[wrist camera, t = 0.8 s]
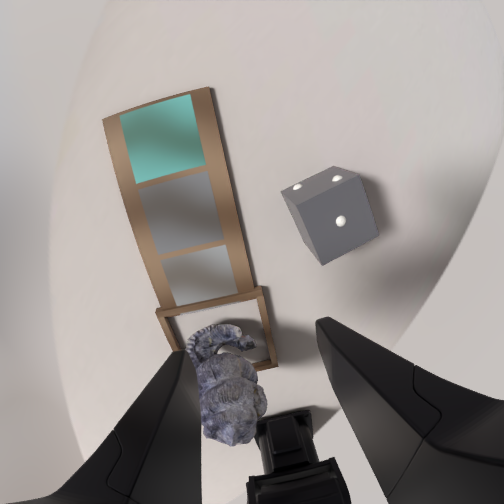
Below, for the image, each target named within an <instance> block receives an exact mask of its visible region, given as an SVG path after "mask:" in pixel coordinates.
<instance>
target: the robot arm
mask: <svg viewBox="0 0 504 504" xmlns="http://www.w3.org/2000/svg"><path fill="white" fill-rule="evenodd" d="M315 325H316V335H317V343H318V347H319V350H320V353H321V356H322V359H323V362H324V365H325V368H326V371H327V374H328V377H329V380H330V382H331V385H332V388H333V390H334V392H335V394H336V396H337V398H338V401H339V403H340V405H341V407H342V409H343V411H344V413H345V415H346V417H347V419H348V421H349V423H350V425H351V427H352V429H353V431H354V433H355V435H356V437H357V439H358V441H359V443H360V445H361V447H362V449H363V451H364V453H365V456H366V458H367V459H368V462H369V464H370V466H371V468H372V470H373V472H374V474H375V476H376V478H377V480H378V482H379V484H380V487H381V489H382V491H383V493H384V495H385V497H386V498H387V501H388V503H389V504H504V400H499V399H494V398H491V397H488V396H486V395H483V394H480V393H477V392H475V391H472V390H470V389H467V388H464V387H462V386H459V385H457V384H454V383H452V382H450V381H447V380H445V379H442V378H440V377H438V376H436V375H434V374H432V373H430V372H428V371H426V370H424V369H423V368H421V367H419V366H417V365H415V366H414V364H413V363H411V362H410V361H408V360H406V359H404V358H402V357H400V356H399V355H397V354H395V353H393V352H391V351H390V350H388V349H386V348H384V347H382V346H381V345H379V344H377V343H375V342H373V341H372V340H370V339H368V338H366V337H364V336H363V335H361V334H359V333H357V332H355V331H354V330H352V329H350V328H348V327H347V326H345V325H343V324H341V323H339V322H338V321H336V320H334V319H332V318H331V317H325V318H321V319H318V320H316V323H315ZM254 438H255V441H256V443H257V445H258V447H259V450H260V451H261V456H262V462H263V468H264V474H265V475H259V476H249V482H247V483H246V487H247V504H351V499H350V495H349V491H348V488H347V485H346V483H345V480H344V478H343V476H342V474H341V471H340V469H339V467H338V464H337V462H336V460H335V457H332V458H329V459H328V460H324V461H321V462H319V459H318V456H317V452H316V449H315V446H314V443H313V440H312V439H313V428H312V419H311V413H310V411H309V410H305V411H301V412H297V413H293V414H289V415H285V416H281V417H276V418H272V419H267V420H262V421H258V422H257V423H256V434H255V436H254ZM8 504H202V489H201V409H200V399H199V390H198V380H197V372H196V369H195V366H194V364H193V362H192V360H191V358H190V355H189V353H188V352H187V350H178V351H174V352H172V353H171V355H170V356H169V357H168V359H167V360H166V361H165V362H164V364H163V365H162V366H161V368H160V369H159V370H158V372H157V373H156V374H155V375H154V377H153V378H152V379H151V381H150V382H149V383H148V384H147V386H146V387H145V388H144V390H143V391H142V392H141V394H140V395H139V396H138V397H137V399H136V400H135V401H134V403H133V404H132V405H131V407H130V408H129V409H128V410H127V412H126V413H125V414H124V416H123V417H122V418H121V419H120V421H119V422H118V423H117V425H116V426H115V427H114V430H112V431H111V432H110V434H109V435H108V436H107V438H106V439H105V440H104V441H103V442H102V444H101V445H100V446H99V447H98V449H97V450H96V451H95V452H94V453H93V454H92V455H91V457H90V458H89V459H88V460H87V461H86V462H85V463H84V464H83V465H82V466H81V467H80V468H79V469H78V470H77V471H76V472H75V473H74V474H73V476H72V477H70V479H69V480H68V481H67V482H66V483H65V484H64V485H63V486H62V487H61V488H59V489H58V490H57V491H56V492H54V493H53V494H51V495H49V496H46V497H43V498H38V499H33V500H27V501H22V502H15V503H8Z"/></svg>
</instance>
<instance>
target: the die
mask: <svg viewBox="0 0 504 504" xmlns="http://www.w3.org/2000/svg"><path fill="white" fill-rule="evenodd" d="M281 193H282V196H283V198H284V200H285V202H286V204H287V206H288V208H289V210H290V213H291V215H292V217H293V219H294V221H295V223H296V226H297V228H298V230H299V232H300V234H301V237H302V239H303V241H304V243H305V244H306V245H307V247H308V248H309V249H310V251H311V252H312V253H313V254H314V256H315V257H316V258H317V260H318V261H319V262H320V264H321V265H322V266H323V265H325V264H327V263H329V262H330V261H332V260H334V259H336V258H338V257H340V256H342V255H344V254H346V253H348V252H349V251H351V250H353V249H355V248H357V247H359V246H361V245H362V244H364V243H366V242H368V241H370V240H372V239H373V238H375V237H377V236H379V233H378V230H377V226H376V223H375V220H374V217H373V213H372V210H371V207H370V204H369V201H368V198H367V195H366V192H365V189H364V186H363V184H362V181H361V178H360V175H359V174H356V173H353V172H350V171H347V170H344V169H341V168H338V167H335V166H332V167H330V168H328V169H326V170H324V171H322V172H320V173H318V174H316V175H313V176H311V177H309V178H307V179H305V180H303V181H301V182H299V183H297V184H295V185H293V186H291V187H289V188H287V189H285V190H283V191H281Z"/></svg>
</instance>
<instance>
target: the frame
mask: <svg viewBox="0 0 504 504" xmlns="http://www.w3.org/2000/svg"><path fill="white" fill-rule="evenodd" d="M255 297H256V298H257V302H258V306H259V311H260V315H261V319H262V324H263V328H264V332H265V337H266V341H267V345H268V349H269V354H270V358H271V360H266V361H262V362H257V363H253V364H252V365H253V367H254V369H255V371H256V372H257V371H262V370H266V369H270V368H275V367H279V366H278V362H277V357H276V352H275V348H274V343H273V338H272V334H271V329H270V324H269V320H268V315H267V311H266V306H265V301H264V297H263V292H262V288H261V286H257V287H254V289H253V290H249V291H245V292H240V293H236V294H232V295H227V296H223V297H218V298H214V299H209V300H205V301H200V302H195V303H191V304H186V305H181V306H176V307H171V308H166V309H162V308H157V309H156V312H155V313H156V315H157V318H158V320H159V322H160V324H161V327H162V329H163V331H164V333H165V336H166V338H167V340H168V342H169V344H170V346H171V348H172V350H173V352H174V351H178V350H181V348H180V346H179V344H178V342H177V339H176V337H175V335H174V333H173V330H172V328H171V326H170V323H169V321H168V319H167V318H166V316H171V315H176V314H181V313H186V312H191V311H196V310H201V309H206V308H210V307H215V306H219V305H224V304H229V303H233V302H237V301H242V300H246V299H251V298H255Z"/></svg>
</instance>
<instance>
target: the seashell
mask: <svg viewBox="0 0 504 504" xmlns="http://www.w3.org/2000/svg"><path fill="white" fill-rule="evenodd" d="M223 345H230V346H233V347H234V346H235V347H237V348H238V349H240V350H241V352H242V351H243V350H246V351H247V350H250V349H253V348H255V347H256V343H255V340H253V338H252V337H250V336H249V335H246V336H245V335H242V332H241V329H240V327H237V326H235V325H231V324H221V325H210V326H208V327H204V328H203V329H201V330H199V331H197V332H196V333H195V334H193V335H192V336H191V337H190V338H189V339H188V341H187V347H186V349H185V350H187V352H188V353H189V355H190V358H191V360H192V362H193V364H194V366H195V369H196V372H197V380H198V390H199V399H200V409H201V424H202V425H203V426H204V430H203V434H204V435H205V437H206V438H210V439H214V440H217V441H219V442H221V443H225V444H228V445H229V446H235V445H237V444H247V443H249V442H250V441H251V439H252V438H253V437H254V436H255V434H256V423H257V420H258V419H259V418H261V417H262V416H263V415H264V414H265V412H266V410H267V399H266V396H265V394H264V391H263V390H264V389H263V388H262V387H261V386H259V385H257V381H258V376H257V372H256V371H255V369H254V367H253V365H252V364H251V363H250V362H249V361H247V360H245V359H244V358H243V357H241V356H237V355H233V354H231V353H224V352H223V353H222V354H217V352H218V350H219V348H221V347H222V346H223Z"/></svg>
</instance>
